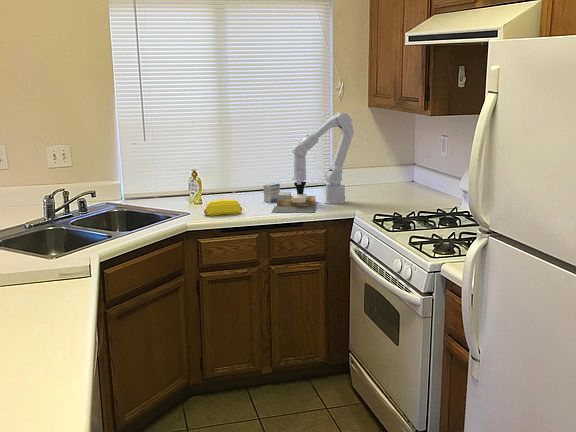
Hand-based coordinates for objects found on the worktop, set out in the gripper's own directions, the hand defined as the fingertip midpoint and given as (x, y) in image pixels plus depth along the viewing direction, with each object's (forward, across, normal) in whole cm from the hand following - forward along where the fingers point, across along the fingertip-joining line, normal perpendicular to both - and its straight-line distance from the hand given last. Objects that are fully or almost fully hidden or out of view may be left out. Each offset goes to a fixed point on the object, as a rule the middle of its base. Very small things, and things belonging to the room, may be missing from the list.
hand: (300, 196), depth 316 cm
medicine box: (+4, -8, -15) cm, 18 cm away
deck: (+4, 0, -2) cm, 4 cm away
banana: (+4, +23, -34) cm, 41 cm away
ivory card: (+1, +6, 0) cm, 6 cm away
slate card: (+1, -1, -8) cm, 8 cm away
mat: (+4, +13, -2) cm, 14 cm away
